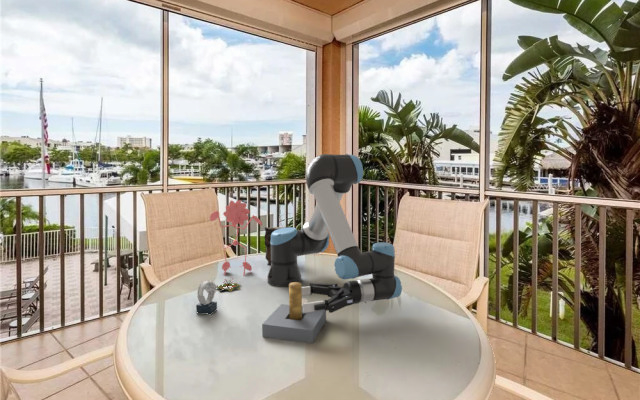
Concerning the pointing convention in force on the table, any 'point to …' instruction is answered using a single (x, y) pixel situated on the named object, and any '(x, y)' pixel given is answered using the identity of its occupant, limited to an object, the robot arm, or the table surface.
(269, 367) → the table surface
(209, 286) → the watch
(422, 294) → the table surface
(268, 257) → the owl
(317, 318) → the hole block
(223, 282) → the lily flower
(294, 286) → the ochre pin
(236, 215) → the figurine
